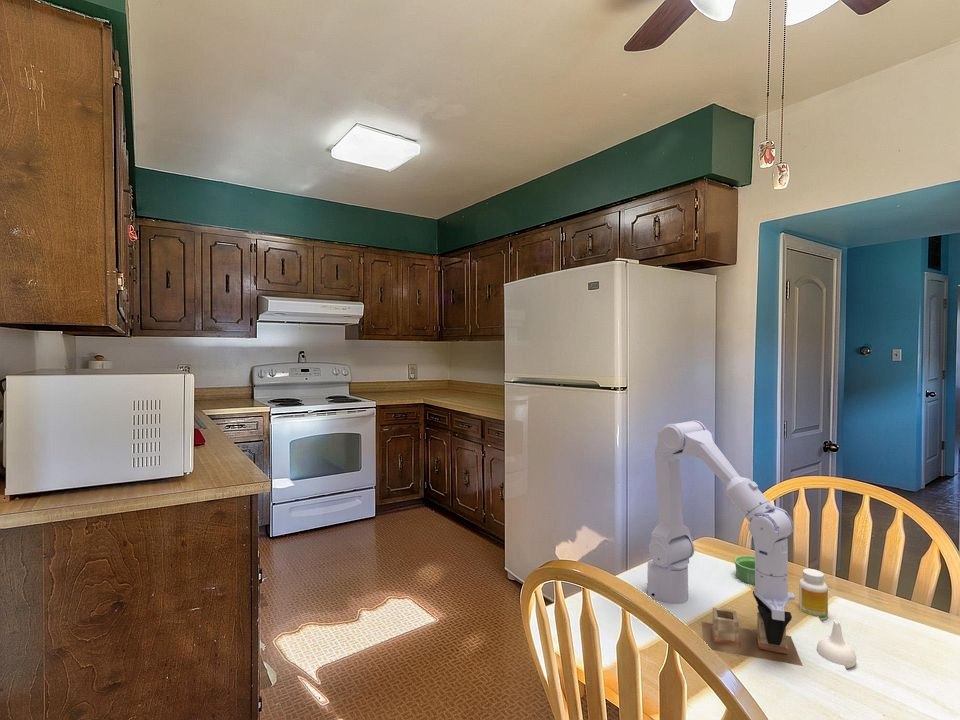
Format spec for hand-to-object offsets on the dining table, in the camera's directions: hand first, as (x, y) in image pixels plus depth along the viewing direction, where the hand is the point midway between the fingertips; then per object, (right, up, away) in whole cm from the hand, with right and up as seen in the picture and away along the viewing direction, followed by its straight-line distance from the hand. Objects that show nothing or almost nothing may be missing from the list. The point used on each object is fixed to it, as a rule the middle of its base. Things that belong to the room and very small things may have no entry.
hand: (771, 636), depth 101 cm
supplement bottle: (+17, -2, +13) cm, 21 cm away
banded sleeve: (0, -2, 0) cm, 2 cm away
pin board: (-4, -3, +2) cm, 5 cm away
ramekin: (+13, -2, +30) cm, 33 cm away
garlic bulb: (+11, -3, -3) cm, 12 cm away
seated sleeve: (-8, -2, +3) cm, 9 cm away
